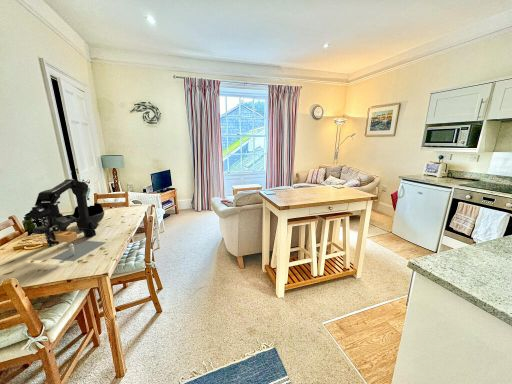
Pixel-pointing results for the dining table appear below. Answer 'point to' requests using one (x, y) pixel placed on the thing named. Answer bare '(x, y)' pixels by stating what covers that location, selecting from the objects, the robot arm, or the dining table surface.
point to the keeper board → (78, 250)
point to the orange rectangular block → (65, 236)
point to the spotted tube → (49, 242)
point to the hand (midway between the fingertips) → (59, 238)
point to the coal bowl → (92, 213)
